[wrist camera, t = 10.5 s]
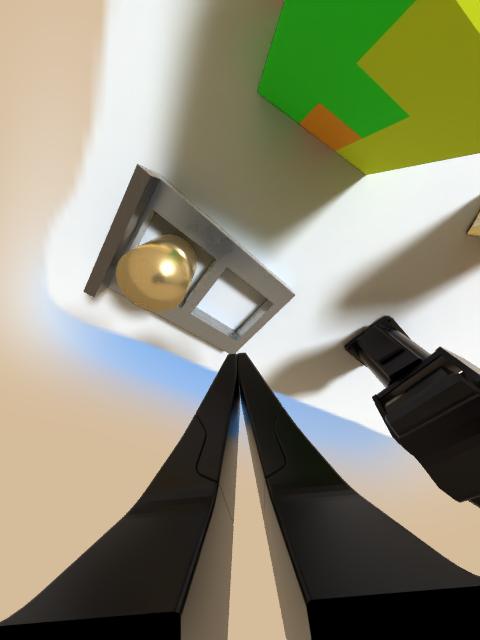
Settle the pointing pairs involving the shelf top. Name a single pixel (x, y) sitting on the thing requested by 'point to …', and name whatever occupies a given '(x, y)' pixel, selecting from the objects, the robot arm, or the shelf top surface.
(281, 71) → the puzzle toy
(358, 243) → the shelf top surface
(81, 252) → the shelf top surface
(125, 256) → the gold metal cylinder
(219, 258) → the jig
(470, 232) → the candy box
